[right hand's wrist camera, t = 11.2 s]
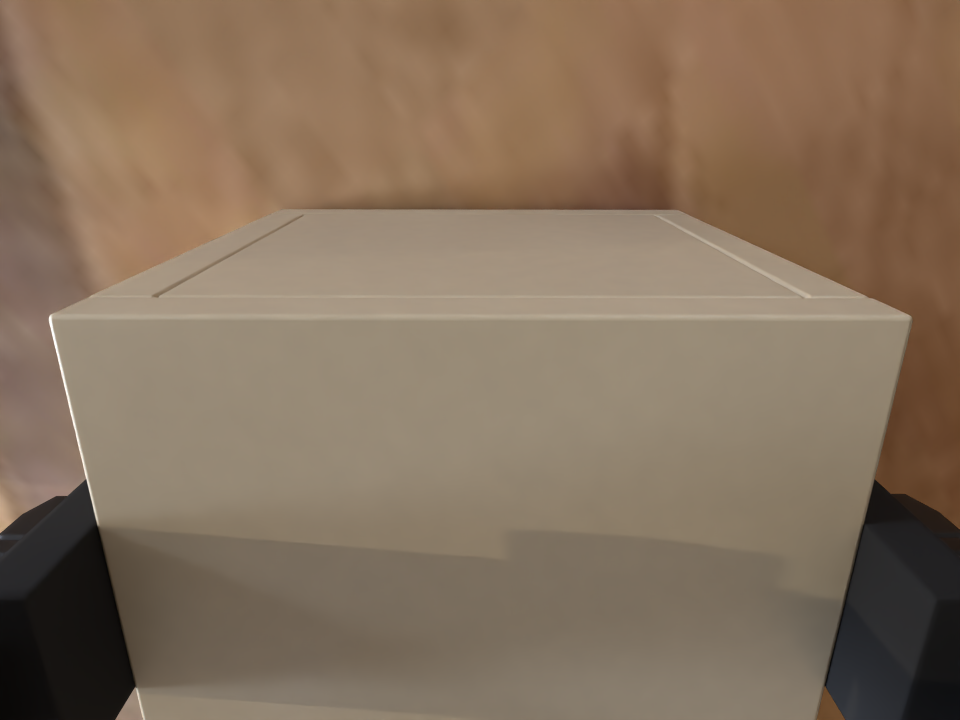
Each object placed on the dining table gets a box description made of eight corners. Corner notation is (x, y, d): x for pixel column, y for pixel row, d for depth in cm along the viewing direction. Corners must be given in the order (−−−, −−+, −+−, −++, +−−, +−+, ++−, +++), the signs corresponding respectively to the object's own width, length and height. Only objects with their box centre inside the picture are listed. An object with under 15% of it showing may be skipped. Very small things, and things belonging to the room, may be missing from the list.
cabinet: (616, 812, 23) (697, 1221, 15) (341, 812, 23) (260, 1221, 15) (680, 209, 16) (917, 315, 7) (279, 208, 16) (44, 315, 7)
